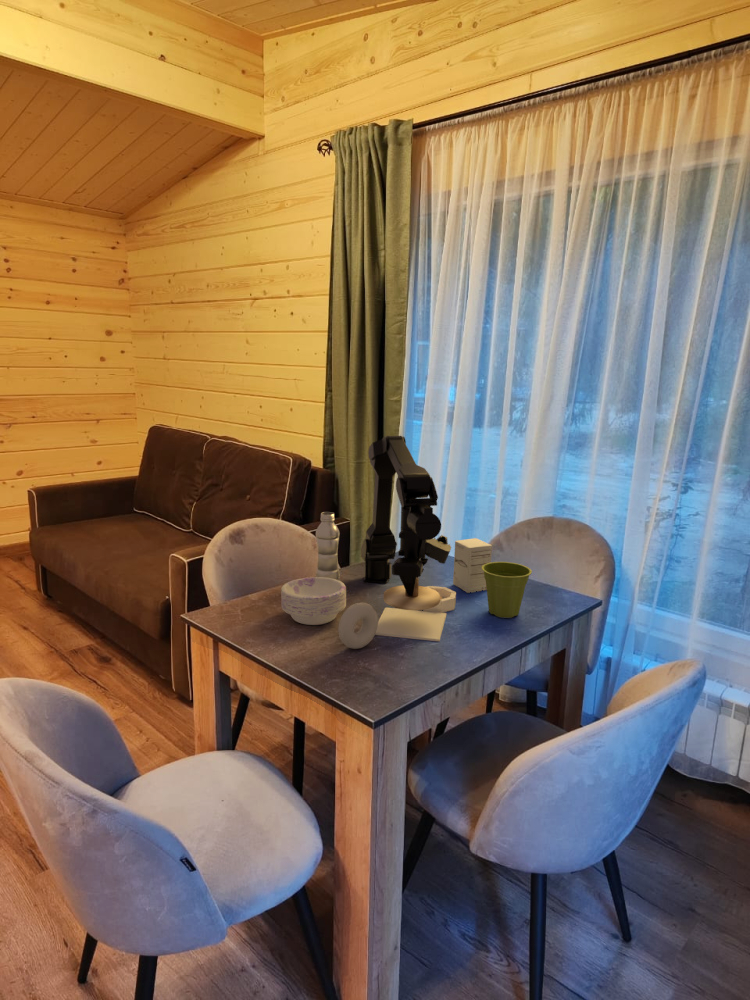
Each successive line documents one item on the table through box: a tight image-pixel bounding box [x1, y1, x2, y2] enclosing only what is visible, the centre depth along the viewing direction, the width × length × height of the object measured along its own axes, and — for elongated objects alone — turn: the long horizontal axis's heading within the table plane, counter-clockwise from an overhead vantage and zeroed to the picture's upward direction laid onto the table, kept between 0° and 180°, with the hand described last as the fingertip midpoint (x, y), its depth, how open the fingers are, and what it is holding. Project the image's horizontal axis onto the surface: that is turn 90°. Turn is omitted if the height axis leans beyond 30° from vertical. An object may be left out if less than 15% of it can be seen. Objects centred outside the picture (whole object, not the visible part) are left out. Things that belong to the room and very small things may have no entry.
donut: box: [337, 602, 379, 650], centre depth 134 cm, size 10×4×10 cm, turn 131°
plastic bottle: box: [315, 511, 341, 581], centre depth 170 cm, size 6×7×20 cm
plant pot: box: [482, 561, 533, 619], centre depth 154 cm, size 12×12×11 cm
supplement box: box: [452, 537, 493, 594], centre depth 171 cm, size 7×7×13 cm
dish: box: [423, 585, 457, 613], centre depth 159 cm, size 10×10×4 cm
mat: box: [374, 607, 447, 642], centre depth 147 cm, size 15×15×1 cm
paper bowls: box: [280, 576, 347, 626], centre depth 150 cm, size 15×15×8 cm
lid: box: [383, 577, 440, 611], centre depth 146 cm, size 13×13×5 cm
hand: (411, 593), depth 146 cm, fingers closed on lid, 3 cm apart
